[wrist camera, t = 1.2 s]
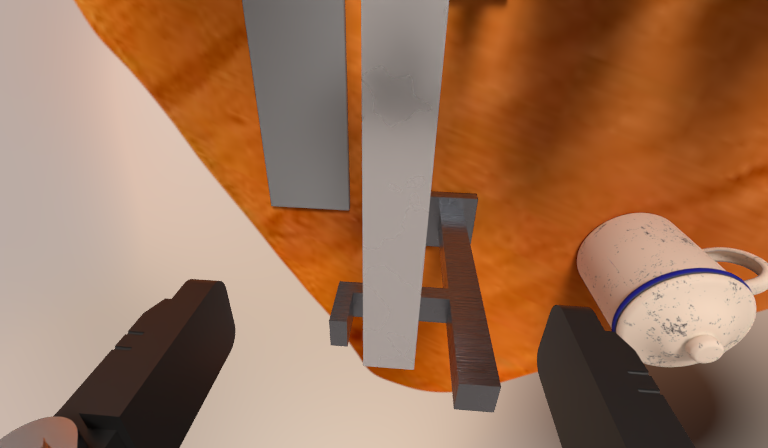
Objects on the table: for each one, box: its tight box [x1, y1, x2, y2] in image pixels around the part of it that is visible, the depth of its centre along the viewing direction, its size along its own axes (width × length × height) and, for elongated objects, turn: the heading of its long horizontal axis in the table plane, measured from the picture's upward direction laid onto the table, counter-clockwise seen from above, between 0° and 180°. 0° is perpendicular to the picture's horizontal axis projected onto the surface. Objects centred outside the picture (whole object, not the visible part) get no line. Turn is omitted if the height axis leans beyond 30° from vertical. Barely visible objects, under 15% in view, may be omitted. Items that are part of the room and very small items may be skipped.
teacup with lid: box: [577, 213, 768, 367], centre depth 30 cm, size 12×9×12 cm
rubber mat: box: [242, 0, 350, 210], centre depth 28 cm, size 25×7×1 cm, turn 179°
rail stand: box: [329, 191, 501, 412], centre depth 22 cm, size 25×10×18 cm, turn 179°
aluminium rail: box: [361, 0, 449, 370], centre depth 18 cm, size 24×3×3 cm, turn 179°
